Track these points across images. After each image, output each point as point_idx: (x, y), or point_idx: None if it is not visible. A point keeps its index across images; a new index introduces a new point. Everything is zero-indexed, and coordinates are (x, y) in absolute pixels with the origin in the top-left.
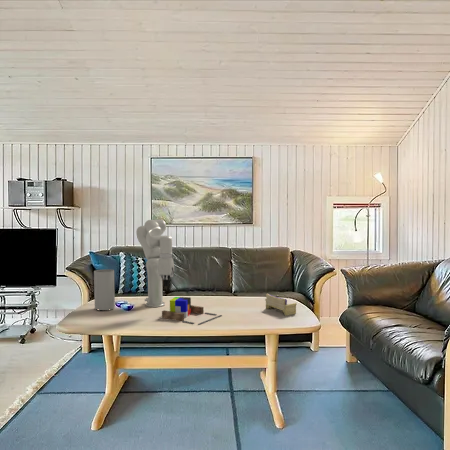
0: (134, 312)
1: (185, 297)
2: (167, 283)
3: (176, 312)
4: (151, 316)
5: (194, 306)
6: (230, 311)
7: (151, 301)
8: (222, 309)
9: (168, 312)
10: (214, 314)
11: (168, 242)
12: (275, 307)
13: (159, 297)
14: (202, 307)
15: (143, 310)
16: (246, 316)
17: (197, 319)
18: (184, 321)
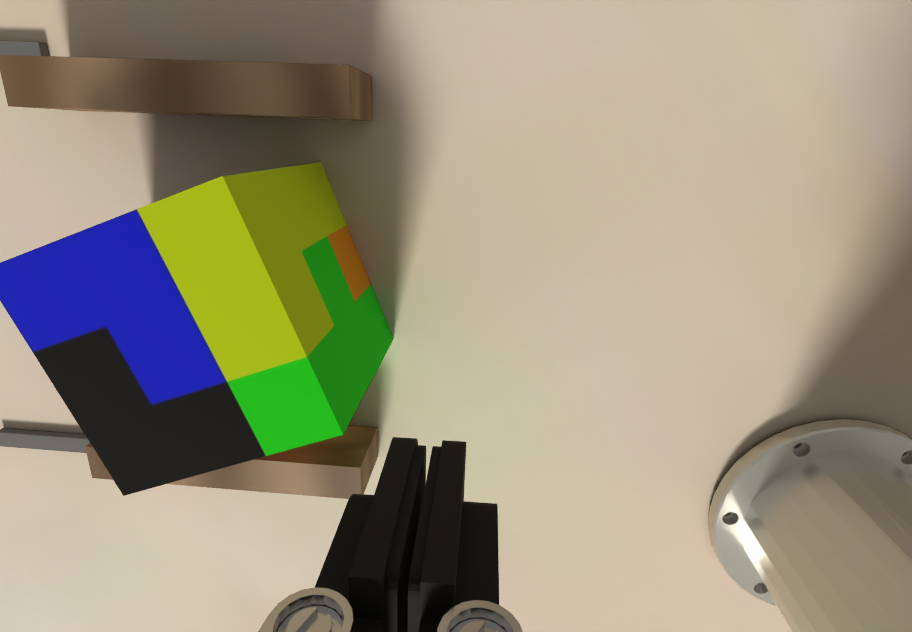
0: (891, 116)
1: (184, 468)
2: (347, 514)
3: (128, 106)
4: (537, 63)
5: None
6: (13, 581)
7: (867, 480)
8: (114, 609)
9: (228, 61)
10: (10, 432)
11: None
12: None
13: (794, 570)
14: (90, 461)
15: (825, 259)
16: None
17: (11, 223)
18: (6, 42)
